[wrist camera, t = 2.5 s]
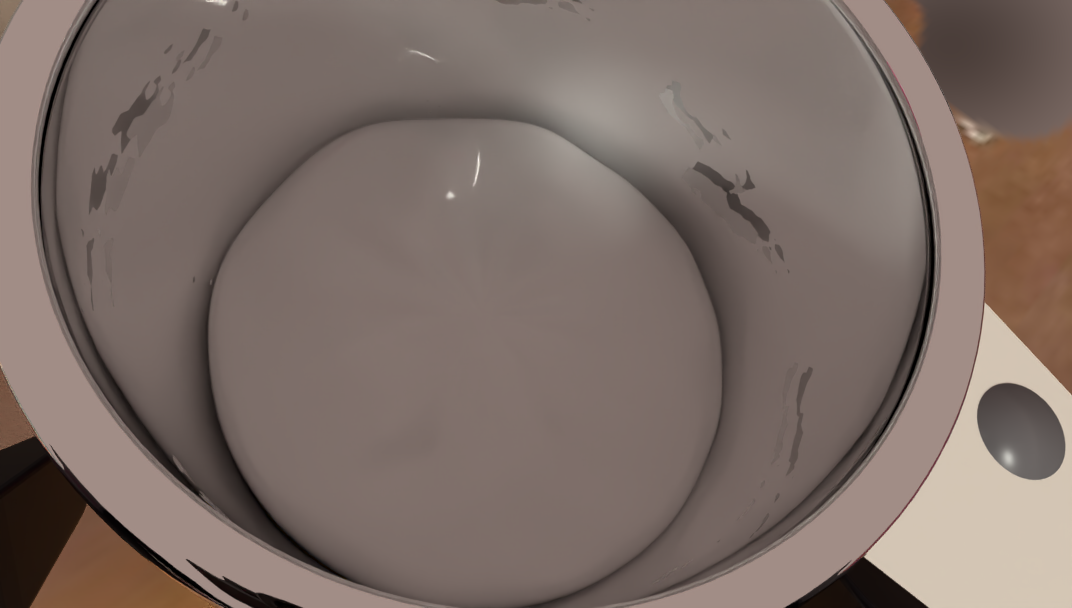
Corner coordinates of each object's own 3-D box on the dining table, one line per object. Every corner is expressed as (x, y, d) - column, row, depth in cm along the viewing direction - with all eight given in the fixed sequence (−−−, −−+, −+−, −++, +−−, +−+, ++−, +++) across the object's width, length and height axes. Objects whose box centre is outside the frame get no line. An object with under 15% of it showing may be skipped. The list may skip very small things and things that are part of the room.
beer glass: (445, 285, 20) (496, -332, 6) (618, 438, 19) (1148, 142, 5) (263, 457, 17) (-396, 84, 3) (455, 643, 16) (629, 1166, 3)
